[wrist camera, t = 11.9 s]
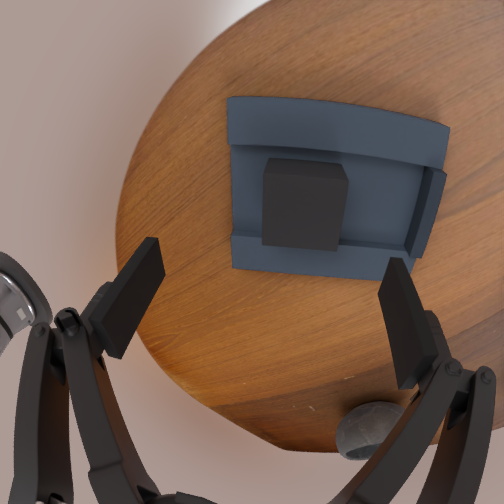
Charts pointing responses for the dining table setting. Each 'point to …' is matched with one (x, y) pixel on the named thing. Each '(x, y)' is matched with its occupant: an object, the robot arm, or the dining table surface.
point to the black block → (303, 204)
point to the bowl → (366, 429)
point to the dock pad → (358, 173)
